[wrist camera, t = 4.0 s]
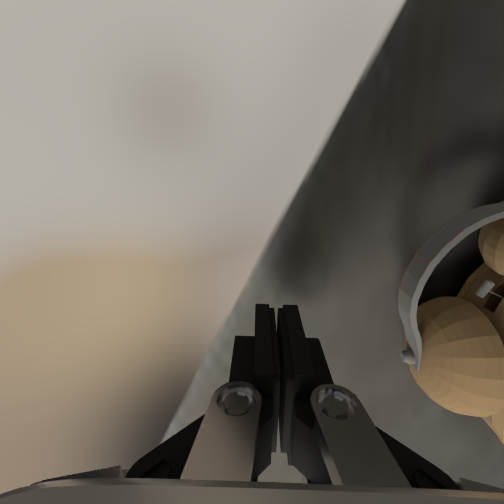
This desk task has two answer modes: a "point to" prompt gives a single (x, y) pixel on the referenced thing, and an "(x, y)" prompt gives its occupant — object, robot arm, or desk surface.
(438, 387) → the alarm clock
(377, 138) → the desk surface
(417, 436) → the desk surface
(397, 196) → the desk surface
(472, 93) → the desk surface
